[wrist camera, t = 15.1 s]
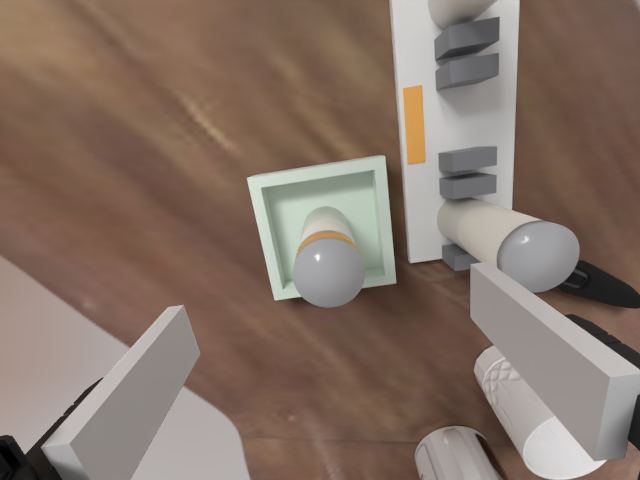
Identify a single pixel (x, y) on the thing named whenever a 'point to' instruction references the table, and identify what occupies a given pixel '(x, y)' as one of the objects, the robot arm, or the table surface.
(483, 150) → the board
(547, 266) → the fuse
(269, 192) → the tray
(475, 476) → the mug
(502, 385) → the white cup
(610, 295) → the electric trimmer
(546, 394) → the robot arm
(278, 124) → the table surface
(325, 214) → the marked fuse
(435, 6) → the cream grey cylinder
